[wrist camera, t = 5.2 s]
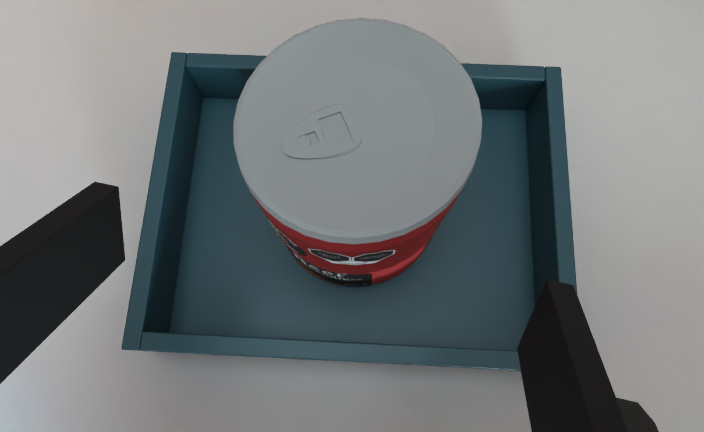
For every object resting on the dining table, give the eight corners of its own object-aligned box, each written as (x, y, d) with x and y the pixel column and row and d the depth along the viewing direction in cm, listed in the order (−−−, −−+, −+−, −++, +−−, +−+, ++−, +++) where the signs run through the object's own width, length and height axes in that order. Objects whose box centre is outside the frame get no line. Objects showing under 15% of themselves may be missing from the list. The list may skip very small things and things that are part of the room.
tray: (536, 101, 28) (561, 66, 25) (551, 371, 24) (583, 373, 21) (193, 88, 29) (171, 51, 25) (153, 350, 25) (120, 349, 21)
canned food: (253, 205, 26) (184, 102, 16) (372, 121, 28) (381, -26, 17) (340, 322, 25) (327, 296, 14) (463, 227, 26) (536, 137, 15)
